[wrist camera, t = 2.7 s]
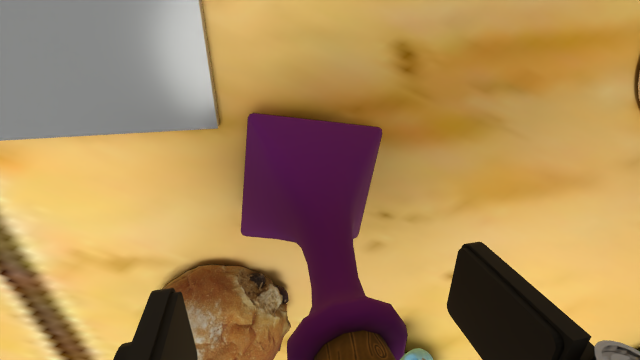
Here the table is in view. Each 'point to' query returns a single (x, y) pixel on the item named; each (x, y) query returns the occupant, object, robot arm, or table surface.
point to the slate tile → (103, 68)
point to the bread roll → (233, 312)
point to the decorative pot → (417, 355)
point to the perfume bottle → (320, 229)
